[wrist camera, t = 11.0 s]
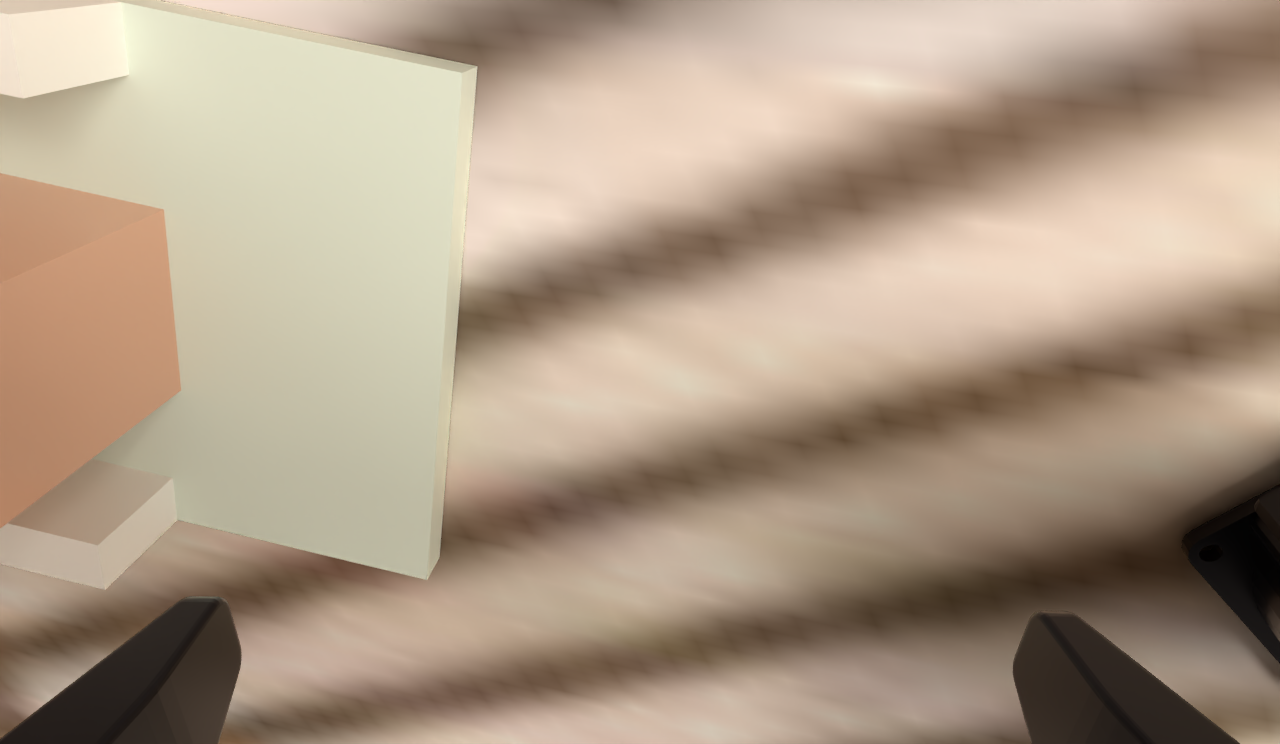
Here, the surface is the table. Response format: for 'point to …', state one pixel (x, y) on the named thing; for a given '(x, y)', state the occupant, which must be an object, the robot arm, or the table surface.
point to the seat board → (258, 275)
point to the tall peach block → (77, 330)
